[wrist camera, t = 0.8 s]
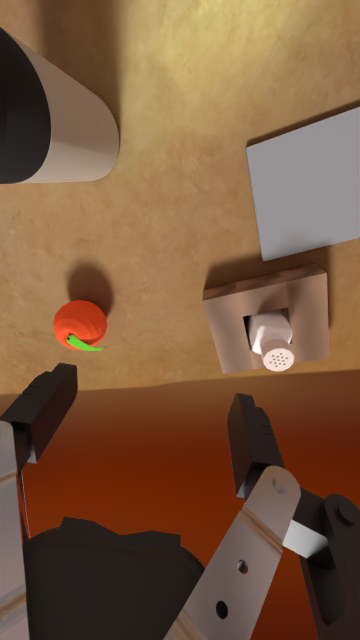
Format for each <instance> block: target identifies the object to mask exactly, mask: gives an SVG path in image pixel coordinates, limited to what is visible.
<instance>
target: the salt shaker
mask: <svg viewBox="0 0 360 640" xmlns="http://www.w3.org/2000/svg"><path fill="white" fill-rule="evenodd" d="M247 329H248V333H249V337H250V341H251V346H252V350H253V351H254V352H256V353H258V354H261V357H262V360H263V364H264V365H265V366H266V367H267V369H270V370H272V371H283V370H285V369H287V368H289V367H290V366H291V365H292V364H293V362H294V354H293V352H292V350H291V348H290V345H289V344H290V341H291V338H292V329H291V327H290V325H289V323H288V321H287V319H286V317H285V315H284V314H283V312H282V310H281V309H278V310H273V311H268V312H263V313H258V314H253V315H250V316H249V319H248V323H247Z"/></svg>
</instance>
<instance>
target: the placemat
mask: <svg viewBox="0 0 360 640" xmlns="http://www.w3.org/2000/svg"><path fill="white" fill-rule="evenodd" d="M246 155H247V162H248V169H249V175H250V182H251V189H252V195H253V202H254V209H255V215H256V222H257V229H258V235H259V242H260V249H261V255H262V261H263V262H264V261H268V260H272V259H276V258H280V257H284V256H288V255H292V254H296V253H300V252H304V251H308V250H312V249H316V248H320V247H324V246H328V245H332V244H336V243H340V242H344V241H348V240H352V239H356V238H360V107H357V108H355V109H352V110H349V111H346V112H344V113H341V114H338V115H335V116H333V117H330V118H327V119H324V120H321V121H319V122H316V123H313V124H310V125H308V126H305V127H302V128H299V129H297V130H294V131H291V132H288V133H286V134H283V135H280V136H277V137H274V138H272V139H269V140H266V141H263V142H261V143H258V144H255V145H252V146H250V147H247V148H246Z"/></svg>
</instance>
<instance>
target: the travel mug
mask: <svg viewBox="0 0 360 640" xmlns="http://www.w3.org/2000/svg"><path fill="white" fill-rule="evenodd" d="M118 152H119V134H118V129H117V125H116V122H115V119H114V117H113V115H112V113H111V111H110V110H109V108H108V107H107V105H106V104H105V103H104V102H103V101H102V100H101V99H100V98H99V97H98V96H97V95H96V94H94V93H93V92H91V91H90V90H88V89H87V88H86V87H84V86H83V85H81V84H80V83H79V82H77V81H76V80H74V79H73V78H71V77H70V76H69V75H67V74H66V73H64V72H63V71H62V70H60V69H59V68H57V67H56V66H55V65H53V64H52V63H50V62H49V61H47V60H46V59H45V58H43V57H42V56H40V55H39V54H38V53H36V52H35V51H33V50H32V49H30V48H29V47H28V46H26V45H25V44H23V43H22V42H21V41H19V40H18V39H16V38H15V37H14V36H12V35H11V34H9V33H8V32H6V31H5V30H4V29H2V28H1V27H0V184H12V183H45V182H77V181H95V180H98V179H101V178H103V177H104V176H106V175H107V174H108V173H109V172H110V171H111V169H112V168H113V166H114V165H115V162H116V160H117V157H118Z"/></svg>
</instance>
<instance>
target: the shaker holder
mask: <svg viewBox="0 0 360 640" xmlns="http://www.w3.org/2000/svg"><path fill="white" fill-rule="evenodd" d="M203 304H204V308H205V311H206V315H207V318H208V322H209V325H210V329H211V332H212V336H213V339H214V343H215V346H216V350H217V353H218V357H219V360H220V364H221V367H222V371H223V374H225V373H232V372H239V371H245V370H252V369H259V368H265V367H266V366H265V365H264V364H263V360H262V357H261V354H258V353H256V352H254V351H253V350H252V346H251V341H250V337H249V336H247V335H246V330H245V325H244V321H243V316H248V315H253V314H258V313H263V312H268V311H273V310H278V309H282V308H283V314H284V315H285V317H286V319H287V321H288V323H289V325H290V327H291V329H292V338H291V341H290V344H289V345H290V348H291V350H292V352H293V354H294V362H293V363H299V362H305V361H312V360H319V359H326V358H329V333H328V298H327V273H326V272H325V271H324V270H323V269H322V268H320V267H319V266H318V265H317V264H316V263H314V264H310V265H306V266H302V267H297V268H293V269H289V270H285V271H281V272H276V273H272V274H268V275H264V276H259V277H255V278H251V279H247V280H242V281H238V282H234V283H230V284H225V285H221V286H217V287H213V288H209V289H204V290H203Z"/></svg>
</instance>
